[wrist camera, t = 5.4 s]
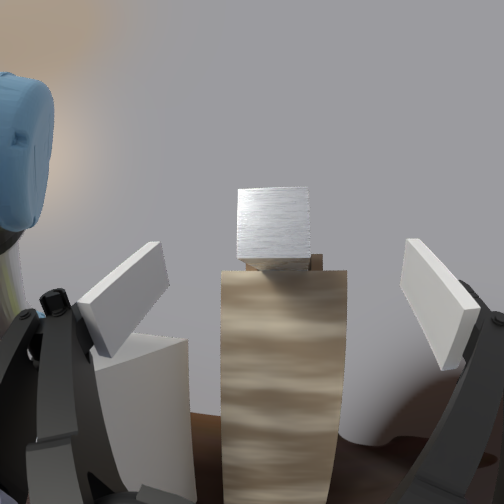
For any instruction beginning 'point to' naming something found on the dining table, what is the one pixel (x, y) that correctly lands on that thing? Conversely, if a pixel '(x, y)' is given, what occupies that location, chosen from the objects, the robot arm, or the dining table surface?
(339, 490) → the dining table surface
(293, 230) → the bar
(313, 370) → the zigzag patterned box
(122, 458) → the tall white box
